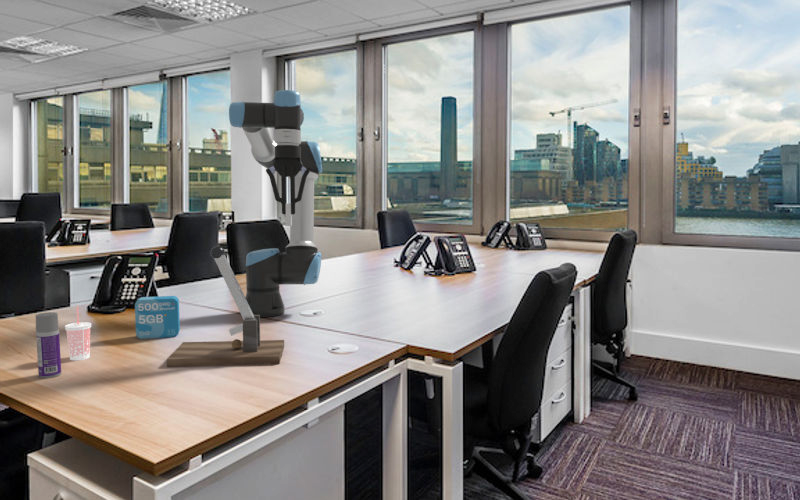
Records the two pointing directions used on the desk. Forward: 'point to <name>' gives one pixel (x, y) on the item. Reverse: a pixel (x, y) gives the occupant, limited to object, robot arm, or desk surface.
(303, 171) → the robot arm
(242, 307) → the lever
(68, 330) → the beverage cup
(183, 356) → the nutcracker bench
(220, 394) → the desk surface
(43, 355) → the container
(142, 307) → the data package
